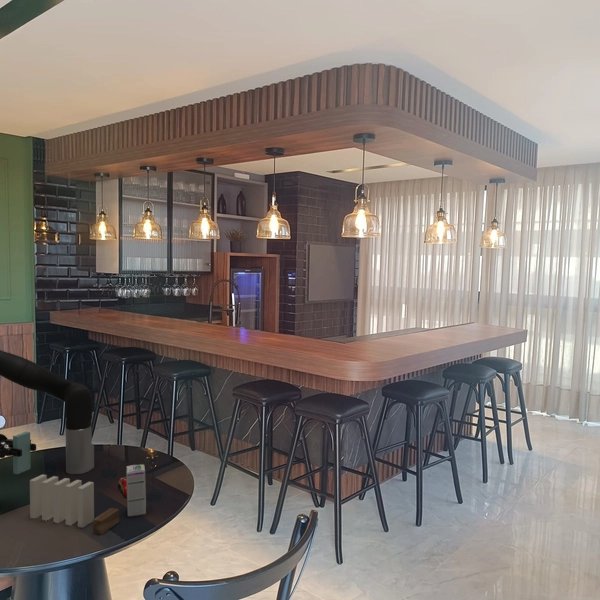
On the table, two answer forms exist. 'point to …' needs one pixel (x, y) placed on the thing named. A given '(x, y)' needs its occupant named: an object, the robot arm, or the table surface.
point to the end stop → (105, 521)
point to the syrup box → (136, 490)
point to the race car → (123, 485)
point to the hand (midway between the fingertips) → (28, 450)
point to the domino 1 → (23, 461)
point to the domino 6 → (85, 504)
